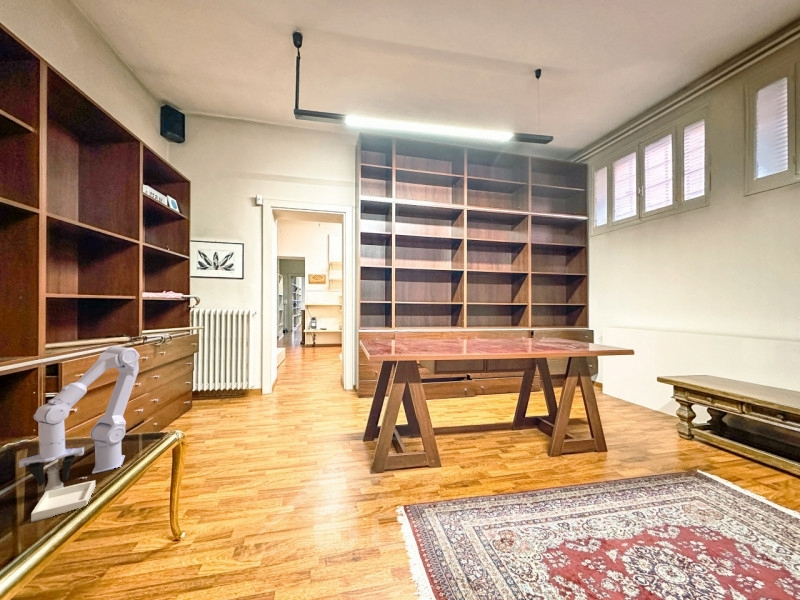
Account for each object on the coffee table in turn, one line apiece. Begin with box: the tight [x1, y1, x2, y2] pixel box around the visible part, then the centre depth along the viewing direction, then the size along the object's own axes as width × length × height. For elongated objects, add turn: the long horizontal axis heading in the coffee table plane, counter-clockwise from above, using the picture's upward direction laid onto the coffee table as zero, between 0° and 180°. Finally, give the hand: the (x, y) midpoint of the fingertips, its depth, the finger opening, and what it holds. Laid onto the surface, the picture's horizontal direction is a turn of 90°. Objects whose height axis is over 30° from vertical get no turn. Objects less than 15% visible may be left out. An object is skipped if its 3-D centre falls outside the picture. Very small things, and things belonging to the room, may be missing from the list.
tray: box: [30, 479, 97, 523], centre depth 101 cm, size 12×12×2 cm
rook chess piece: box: [43, 464, 65, 493], centre depth 107 cm, size 4×4×8 cm
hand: (53, 481), depth 107 cm, fingers open, 5 cm apart
